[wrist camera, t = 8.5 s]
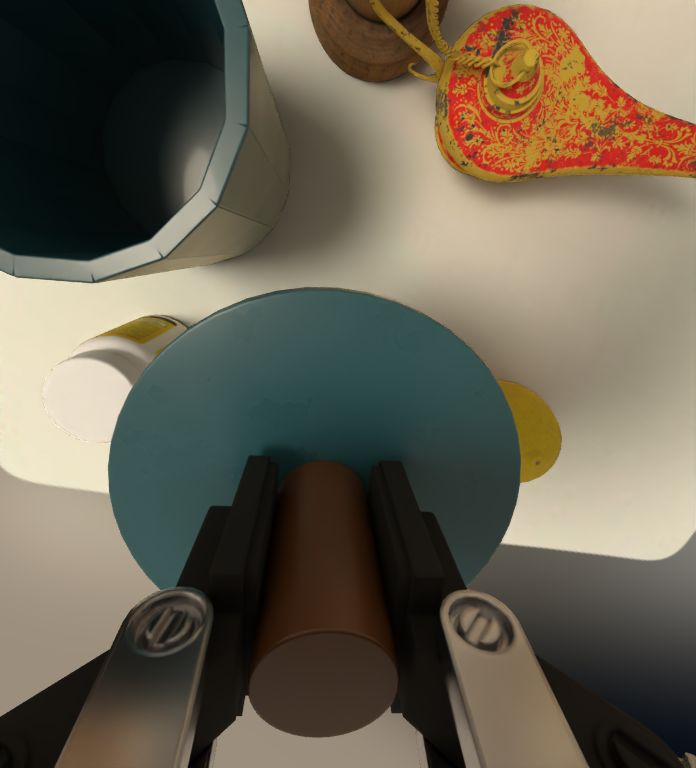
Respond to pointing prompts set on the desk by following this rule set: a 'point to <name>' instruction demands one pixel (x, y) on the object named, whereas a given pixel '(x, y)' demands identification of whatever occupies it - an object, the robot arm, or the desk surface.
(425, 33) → the mortar and pestle
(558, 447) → the lemon
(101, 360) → the supplement bottle
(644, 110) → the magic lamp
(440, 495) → the lid
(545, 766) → the robot arm
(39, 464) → the desk surface
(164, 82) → the pot
